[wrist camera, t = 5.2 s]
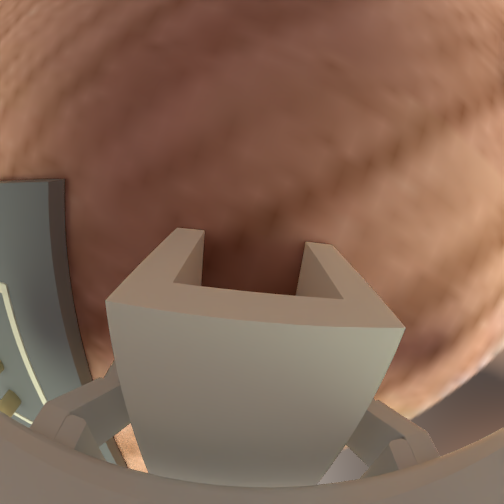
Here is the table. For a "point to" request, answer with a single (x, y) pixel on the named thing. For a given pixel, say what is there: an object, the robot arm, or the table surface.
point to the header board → (38, 304)
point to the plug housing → (247, 366)
